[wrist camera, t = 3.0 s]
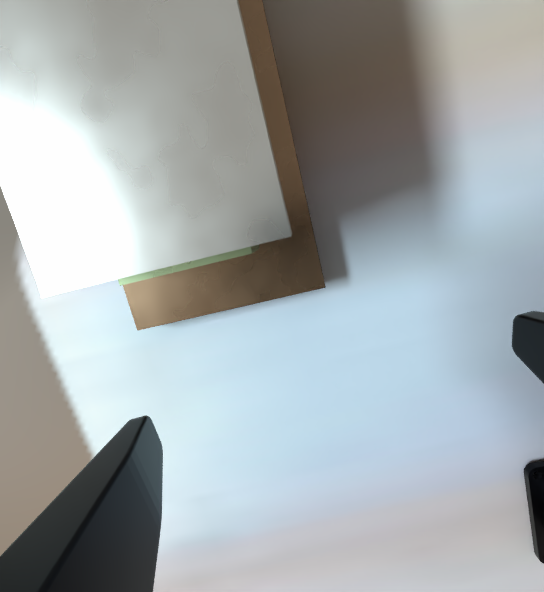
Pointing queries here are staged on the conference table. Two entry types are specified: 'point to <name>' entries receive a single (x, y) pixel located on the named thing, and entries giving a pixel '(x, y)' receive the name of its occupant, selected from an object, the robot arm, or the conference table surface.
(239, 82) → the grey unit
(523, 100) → the conference table surface
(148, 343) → the conference table surface
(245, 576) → the conference table surface
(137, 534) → the robot arm
